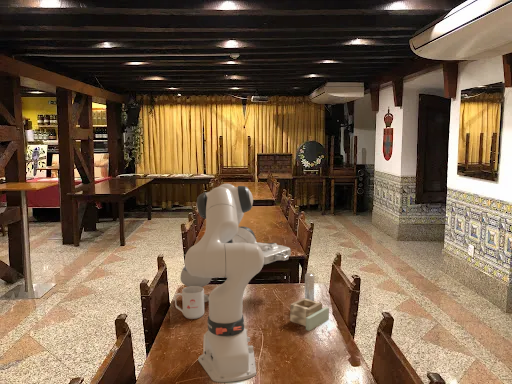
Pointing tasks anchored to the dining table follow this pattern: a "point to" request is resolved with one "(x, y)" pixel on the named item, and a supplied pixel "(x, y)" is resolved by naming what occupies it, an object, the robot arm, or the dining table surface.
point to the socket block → (303, 310)
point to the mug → (192, 302)
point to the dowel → (309, 286)
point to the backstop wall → (317, 318)
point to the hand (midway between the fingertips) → (286, 258)
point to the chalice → (194, 281)
